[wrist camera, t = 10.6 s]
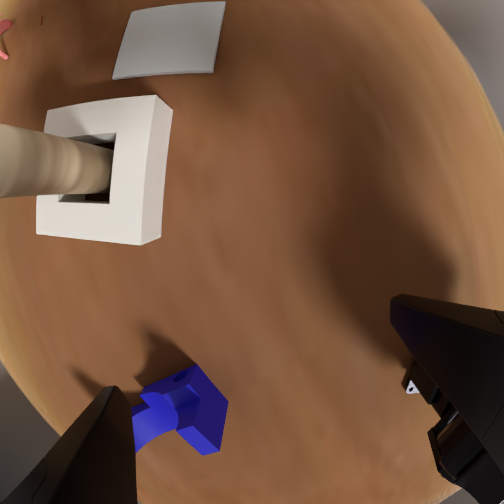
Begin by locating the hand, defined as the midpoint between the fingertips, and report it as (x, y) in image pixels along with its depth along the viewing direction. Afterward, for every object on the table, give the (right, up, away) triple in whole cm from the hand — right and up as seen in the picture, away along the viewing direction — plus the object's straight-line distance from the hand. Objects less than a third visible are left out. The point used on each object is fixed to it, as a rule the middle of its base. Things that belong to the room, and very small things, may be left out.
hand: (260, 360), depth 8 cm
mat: (-7, +19, +9) cm, 22 cm away
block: (-11, +9, +11) cm, 18 cm away
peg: (-11, +9, +11) cm, 18 cm away
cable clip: (-9, -11, +15) cm, 20 cm away
